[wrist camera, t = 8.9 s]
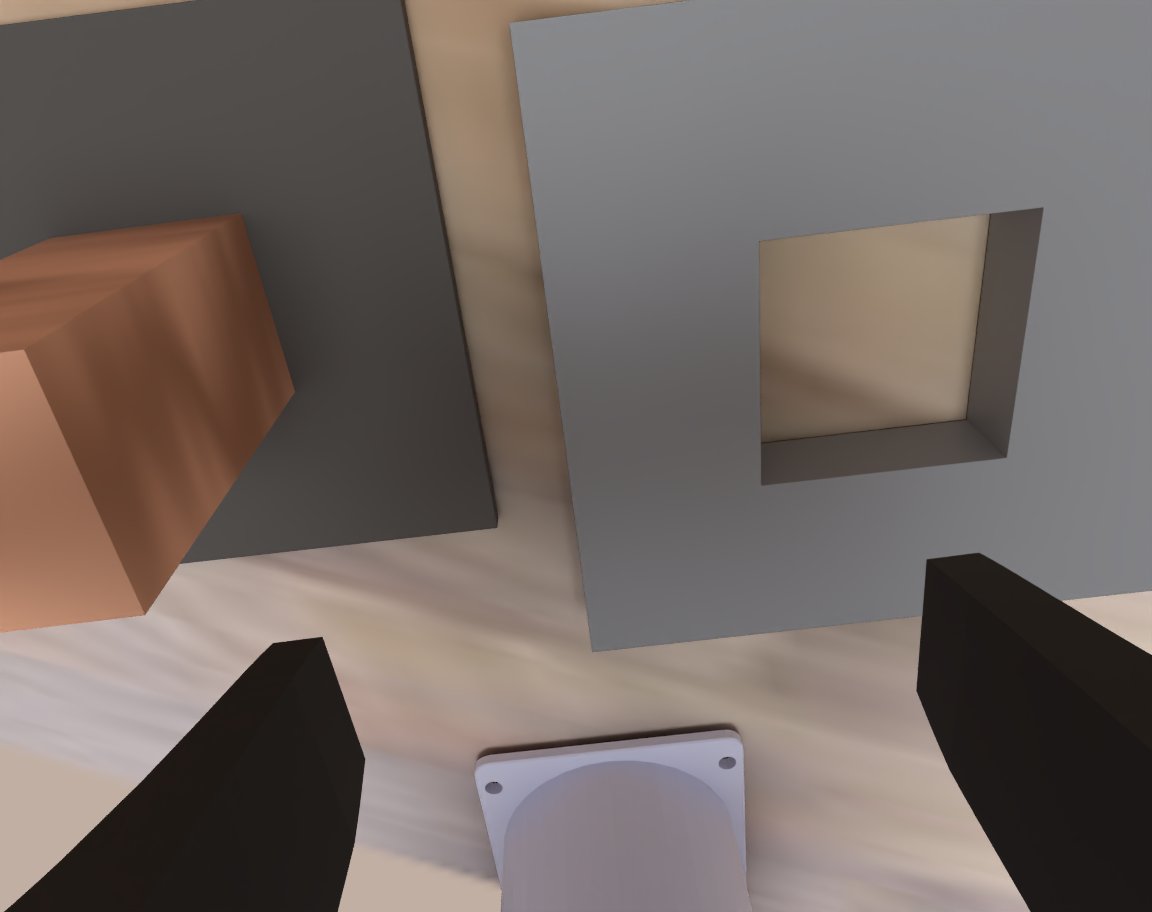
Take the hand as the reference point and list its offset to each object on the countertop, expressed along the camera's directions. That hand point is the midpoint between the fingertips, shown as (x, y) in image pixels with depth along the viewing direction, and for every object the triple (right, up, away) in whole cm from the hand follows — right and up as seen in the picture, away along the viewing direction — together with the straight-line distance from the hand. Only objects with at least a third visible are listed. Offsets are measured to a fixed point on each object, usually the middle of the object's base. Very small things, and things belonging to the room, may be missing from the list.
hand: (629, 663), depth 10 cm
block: (-9, +5, +8) cm, 13 cm away
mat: (-9, +6, +8) cm, 14 cm away
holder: (+6, +5, +9) cm, 12 cm away
